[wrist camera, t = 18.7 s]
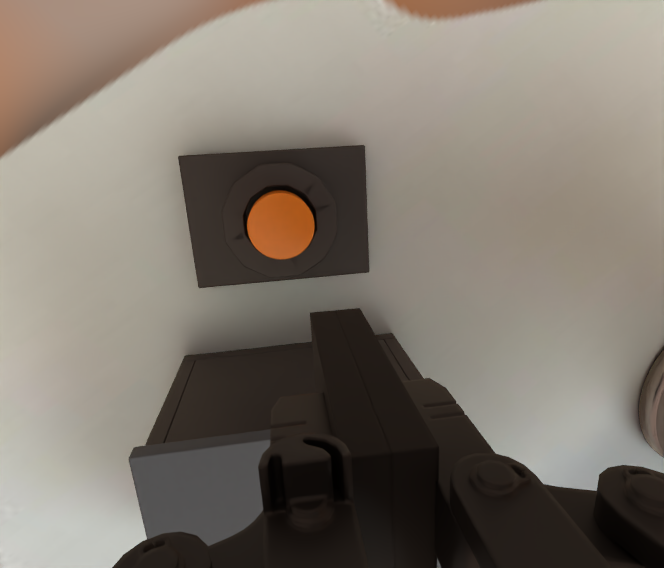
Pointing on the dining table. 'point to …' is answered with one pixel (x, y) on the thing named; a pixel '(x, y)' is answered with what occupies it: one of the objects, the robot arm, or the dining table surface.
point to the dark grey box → (245, 389)
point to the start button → (280, 225)
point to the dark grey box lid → (200, 485)
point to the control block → (265, 176)
